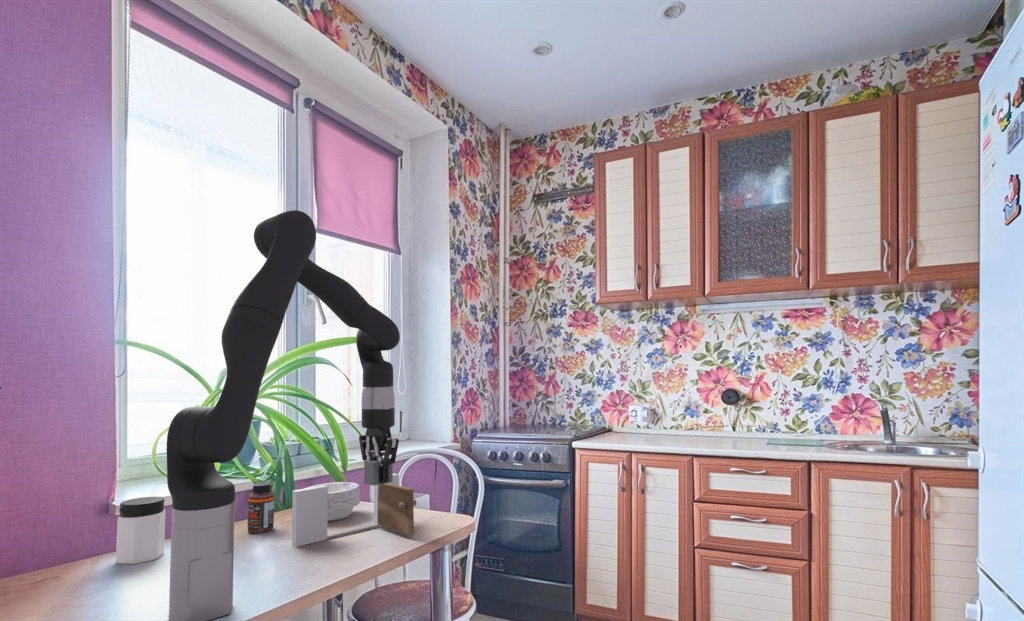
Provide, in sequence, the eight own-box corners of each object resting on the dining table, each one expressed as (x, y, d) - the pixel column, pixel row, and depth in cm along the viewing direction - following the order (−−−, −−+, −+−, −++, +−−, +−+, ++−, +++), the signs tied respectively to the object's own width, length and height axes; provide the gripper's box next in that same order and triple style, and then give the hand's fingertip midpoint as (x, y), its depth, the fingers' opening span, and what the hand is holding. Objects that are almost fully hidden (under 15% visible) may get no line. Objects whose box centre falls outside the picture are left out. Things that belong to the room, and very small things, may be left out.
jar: (125, 554, 127) (127, 497, 129) (167, 550, 130) (169, 494, 131) (110, 567, 119) (113, 506, 120) (155, 562, 121) (157, 503, 122)
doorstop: (392, 482, 135) (392, 460, 135) (373, 485, 131) (373, 462, 132) (383, 480, 137) (383, 458, 138) (364, 483, 134) (364, 461, 134)
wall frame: (399, 522, 148) (398, 474, 150) (295, 547, 130) (296, 491, 131) (394, 521, 150) (394, 473, 151) (291, 545, 131) (292, 490, 132)
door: (385, 521, 146) (385, 480, 147) (417, 531, 136) (417, 488, 137) (371, 525, 143) (371, 483, 144) (403, 535, 133) (403, 490, 134)
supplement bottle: (241, 533, 142) (242, 485, 143) (259, 526, 148) (259, 481, 149) (262, 534, 140) (263, 486, 141) (278, 528, 146) (279, 481, 147)
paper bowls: (291, 517, 156) (291, 487, 157) (344, 507, 166) (344, 479, 167) (315, 528, 145) (315, 495, 146) (370, 516, 155) (370, 486, 156)
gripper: (348, 406, 138) (348, 480, 137) (380, 408, 128) (380, 488, 127) (376, 404, 144) (376, 475, 142) (409, 406, 133) (409, 483, 132)
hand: (378, 481), depth 134 cm, fingers closed on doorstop, 4 cm apart
